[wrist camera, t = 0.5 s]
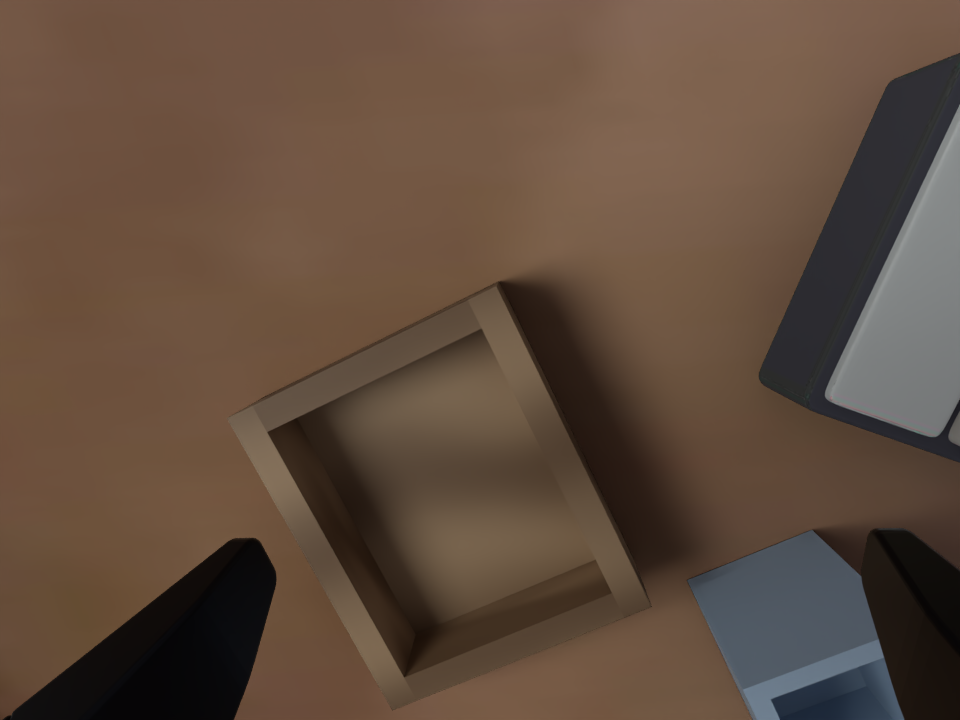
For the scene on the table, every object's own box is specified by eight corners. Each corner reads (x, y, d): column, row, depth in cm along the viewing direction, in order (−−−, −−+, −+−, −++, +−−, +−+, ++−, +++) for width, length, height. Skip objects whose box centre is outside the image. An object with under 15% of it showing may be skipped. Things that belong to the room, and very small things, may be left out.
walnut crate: (635, 562, 24) (651, 606, 21) (407, 656, 25) (392, 710, 22) (499, 281, 22) (496, 286, 19) (263, 397, 23) (226, 418, 20)
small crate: (878, 682, 24) (996, 823, 18) (756, 726, 25) (831, 877, 19) (811, 529, 23) (913, 625, 17) (686, 580, 24) (742, 689, 18)
